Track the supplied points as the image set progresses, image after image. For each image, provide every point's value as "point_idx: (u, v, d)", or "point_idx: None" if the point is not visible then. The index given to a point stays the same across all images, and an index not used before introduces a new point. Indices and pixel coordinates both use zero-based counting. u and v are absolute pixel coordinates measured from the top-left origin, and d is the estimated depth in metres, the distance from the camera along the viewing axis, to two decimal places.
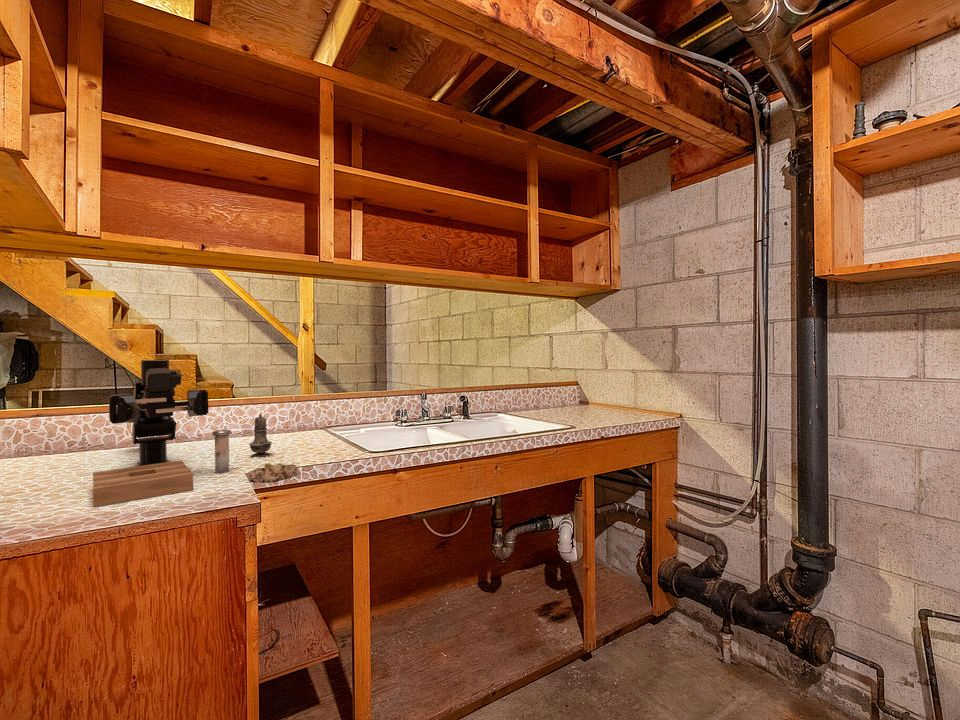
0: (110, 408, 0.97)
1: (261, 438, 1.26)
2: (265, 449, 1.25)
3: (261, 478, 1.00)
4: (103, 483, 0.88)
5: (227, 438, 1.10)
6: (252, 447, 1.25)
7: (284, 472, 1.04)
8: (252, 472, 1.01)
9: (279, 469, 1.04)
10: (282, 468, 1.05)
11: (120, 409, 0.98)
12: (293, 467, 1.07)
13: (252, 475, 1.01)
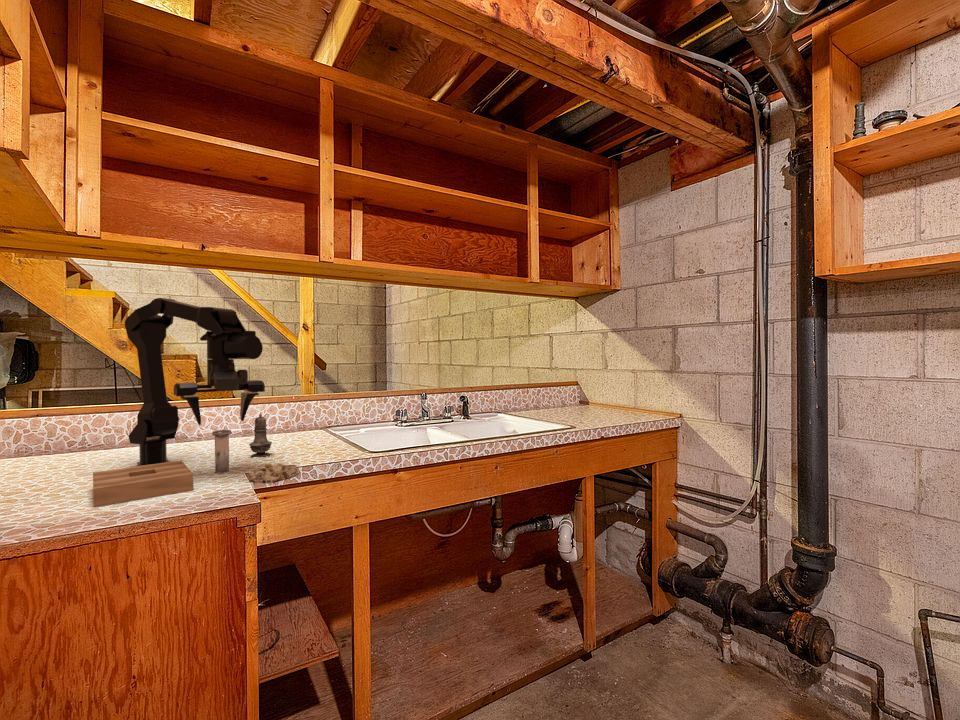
0: None
1: (261, 438, 1.26)
2: (265, 449, 1.25)
3: (261, 478, 1.00)
4: (103, 483, 0.88)
5: (227, 438, 1.10)
6: (252, 447, 1.25)
7: (284, 472, 1.03)
8: (252, 472, 1.01)
9: (280, 469, 1.04)
10: (282, 468, 1.05)
11: None
12: (294, 467, 1.06)
13: (252, 475, 1.01)
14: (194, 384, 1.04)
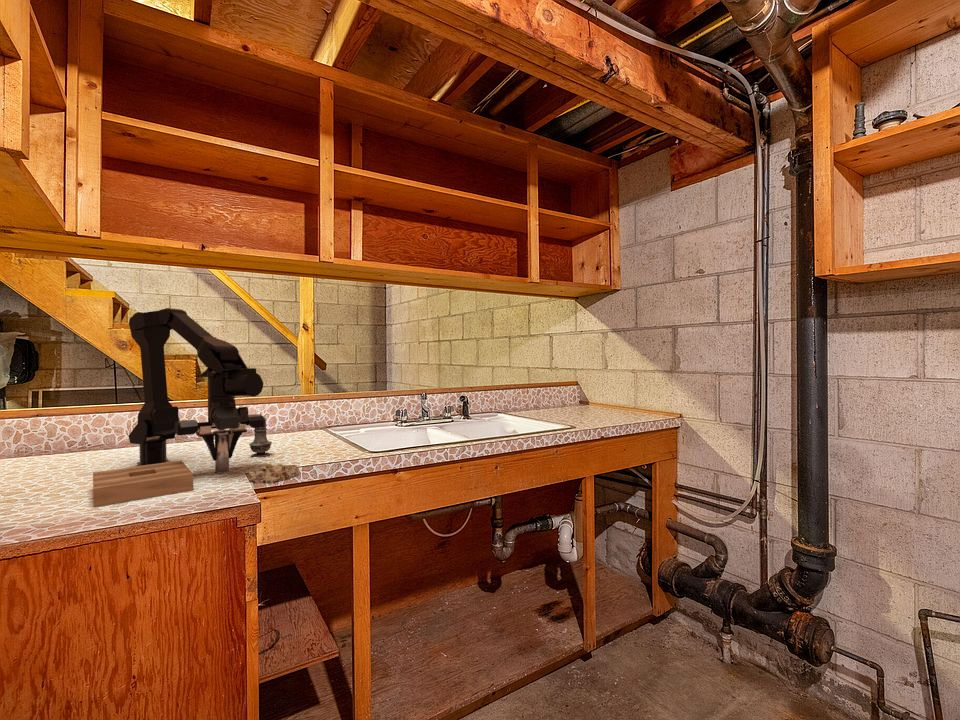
0: None
1: (261, 438, 1.26)
2: (265, 449, 1.25)
3: (261, 479, 1.00)
4: (103, 483, 0.88)
5: (227, 438, 1.10)
6: (252, 447, 1.25)
7: (285, 473, 1.03)
8: (253, 473, 1.01)
9: (280, 469, 1.04)
10: (283, 468, 1.04)
11: None
12: (294, 467, 1.06)
13: (253, 476, 1.00)
14: (195, 422, 1.04)
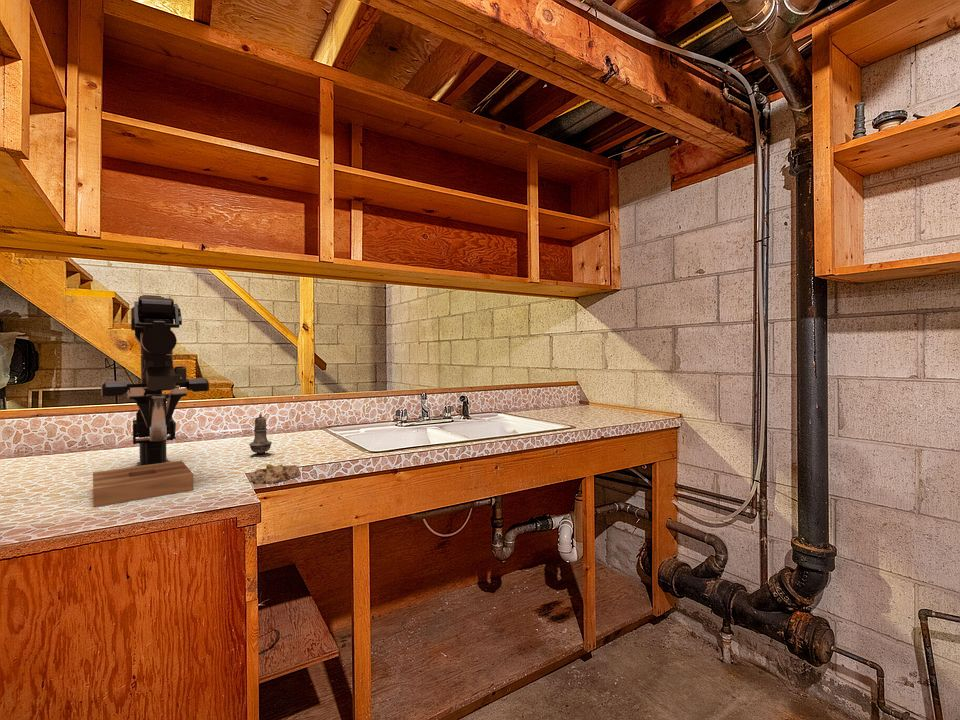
0: None
1: (261, 438, 1.26)
2: (265, 449, 1.25)
3: (262, 479, 0.99)
4: (103, 483, 0.88)
5: (164, 402, 0.98)
6: (252, 447, 1.25)
7: (285, 473, 1.03)
8: (253, 473, 1.01)
9: (281, 470, 1.03)
10: (283, 469, 1.04)
11: None
12: (295, 468, 1.06)
13: (253, 476, 1.00)
14: (123, 383, 0.92)
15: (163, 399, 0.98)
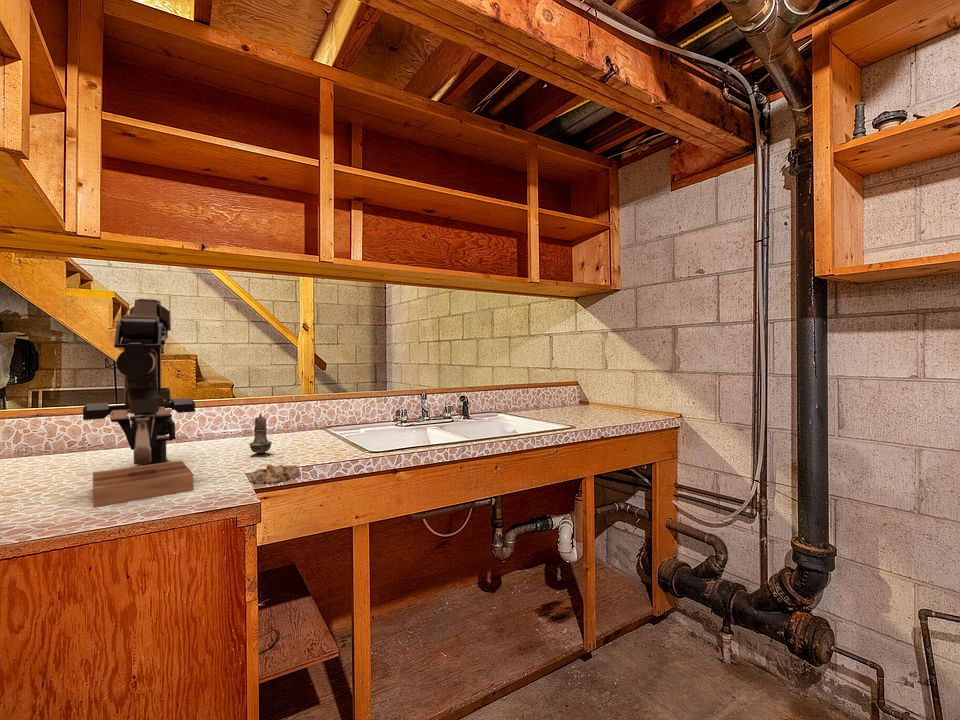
0: None
1: (261, 438, 1.26)
2: (265, 449, 1.25)
3: (262, 479, 0.99)
4: (103, 483, 0.88)
5: (148, 424, 0.95)
6: (252, 447, 1.25)
7: (286, 474, 1.02)
8: (253, 473, 1.00)
9: (281, 470, 1.03)
10: (284, 469, 1.04)
11: None
12: (295, 468, 1.05)
13: (253, 476, 1.00)
14: (105, 405, 0.90)
15: (147, 421, 0.95)
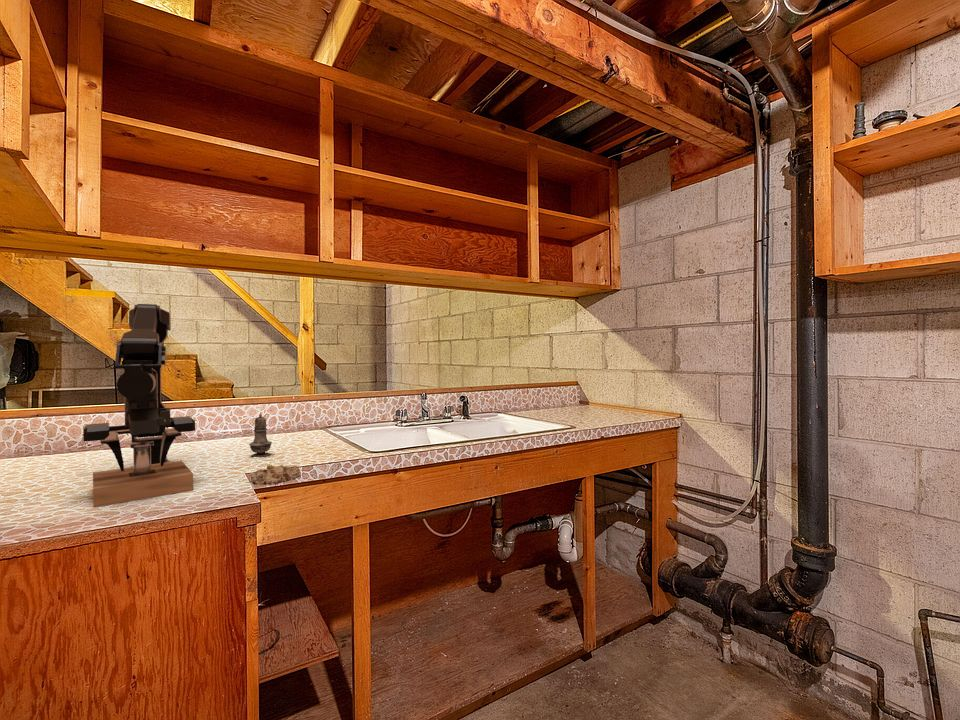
0: None
1: (261, 438, 1.26)
2: (265, 449, 1.25)
3: (262, 480, 0.99)
4: (103, 483, 0.88)
5: (148, 451, 0.95)
6: (252, 447, 1.25)
7: (286, 474, 1.02)
8: (253, 474, 1.00)
9: (281, 470, 1.03)
10: (284, 469, 1.03)
11: None
12: (296, 469, 1.05)
13: (253, 477, 1.00)
14: (106, 426, 0.90)
15: (147, 448, 0.95)
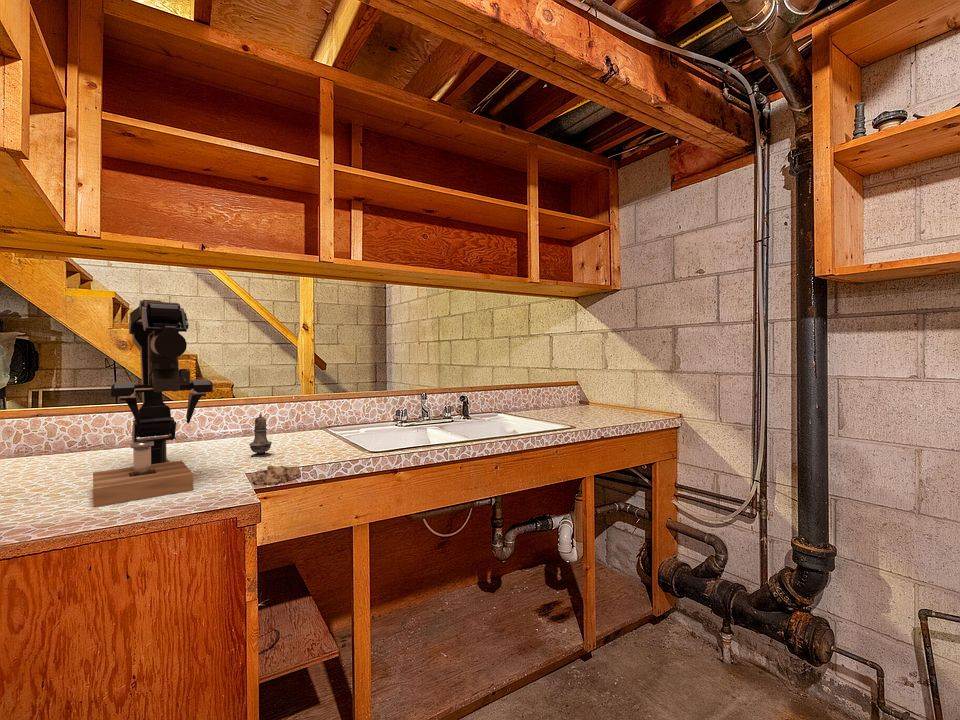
0: None
1: (261, 438, 1.26)
2: (265, 449, 1.25)
3: (262, 480, 0.98)
4: (103, 483, 0.88)
5: (148, 451, 0.95)
6: (252, 447, 1.25)
7: (286, 474, 1.02)
8: (254, 474, 1.00)
9: (282, 471, 1.02)
10: (284, 470, 1.03)
11: None
12: (296, 469, 1.05)
13: (254, 477, 0.99)
14: (131, 384, 0.97)
15: (147, 448, 0.95)
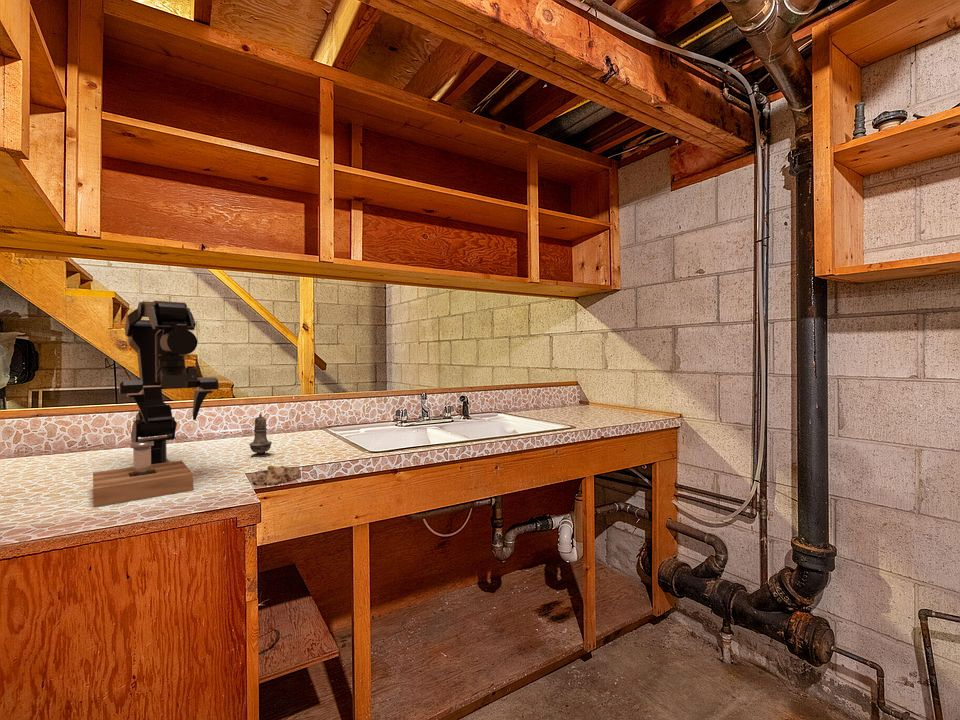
0: None
1: (261, 438, 1.26)
2: (265, 449, 1.25)
3: (263, 481, 0.98)
4: (103, 483, 0.88)
5: (148, 451, 0.95)
6: (252, 447, 1.25)
7: (286, 475, 1.01)
8: (254, 474, 0.99)
9: (282, 471, 1.02)
10: (285, 470, 1.03)
11: None
12: (296, 469, 1.04)
13: (254, 478, 0.99)
14: (140, 381, 0.99)
15: (147, 448, 0.95)
